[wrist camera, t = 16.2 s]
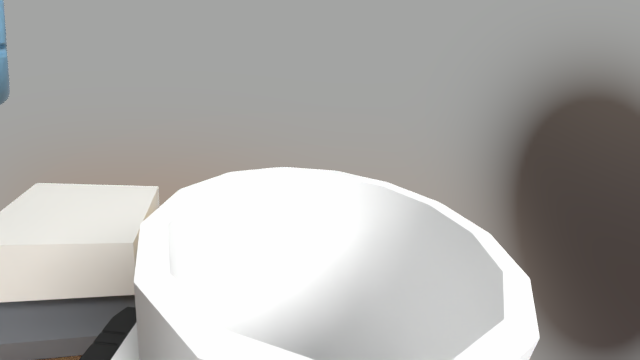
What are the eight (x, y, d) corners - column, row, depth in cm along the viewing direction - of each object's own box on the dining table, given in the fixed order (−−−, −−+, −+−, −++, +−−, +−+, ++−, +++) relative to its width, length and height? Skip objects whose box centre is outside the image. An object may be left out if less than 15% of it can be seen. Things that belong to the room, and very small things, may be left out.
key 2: (-27, 303, 19) (-44, 245, 18) (44, 228, 27) (36, 182, 25) (136, 294, 22) (133, 242, 20) (160, 227, 29) (158, 186, 28)
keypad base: (-42, 367, 19) (-49, 348, 19) (48, 255, 29) (45, 240, 28) (410, 321, 28) (414, 308, 27) (362, 247, 38) (365, 236, 37)
